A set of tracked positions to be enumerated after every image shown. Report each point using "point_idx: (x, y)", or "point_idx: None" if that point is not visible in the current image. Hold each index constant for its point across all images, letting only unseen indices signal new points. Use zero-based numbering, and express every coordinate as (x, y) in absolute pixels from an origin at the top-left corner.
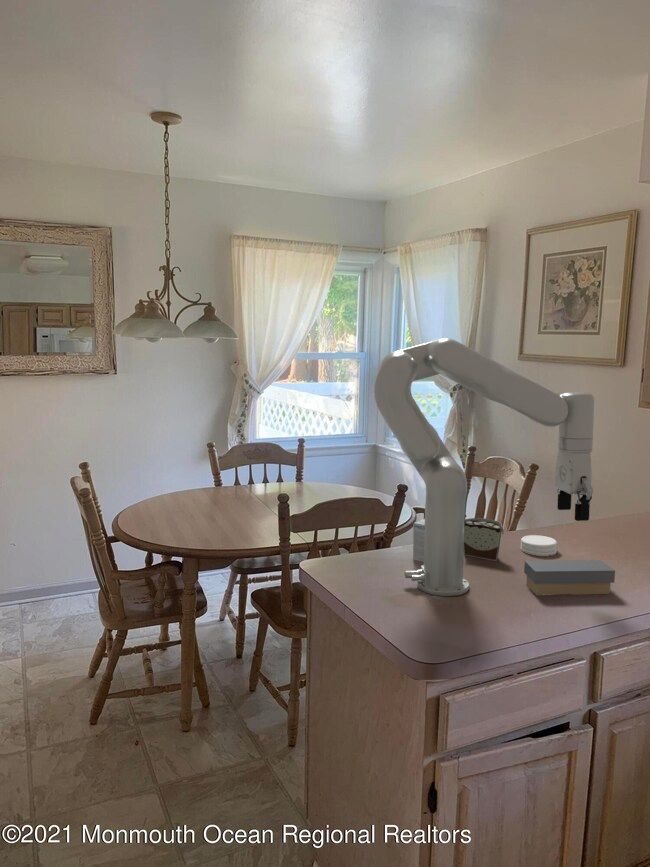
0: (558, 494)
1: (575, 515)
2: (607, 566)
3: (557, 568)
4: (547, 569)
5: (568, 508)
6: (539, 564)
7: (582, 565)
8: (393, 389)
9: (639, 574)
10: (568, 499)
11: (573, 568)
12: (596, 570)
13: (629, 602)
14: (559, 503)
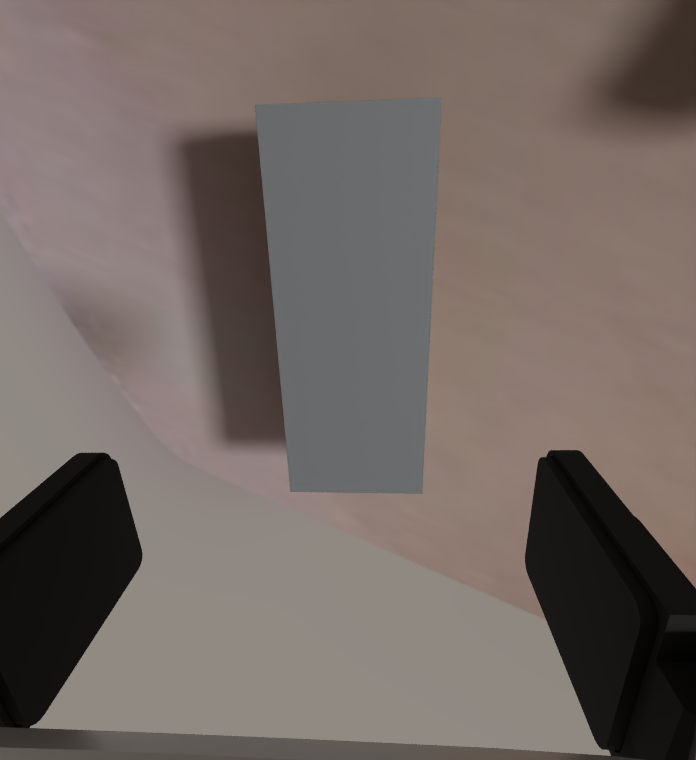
0: (677, 608)
1: (53, 480)
2: (339, 485)
3: (308, 256)
4: (290, 193)
5: (531, 552)
6: (371, 174)
7: (351, 393)
8: None
9: (478, 582)
10: (577, 650)
11: (311, 336)
12: (287, 424)
13: (244, 455)
14: (572, 504)
